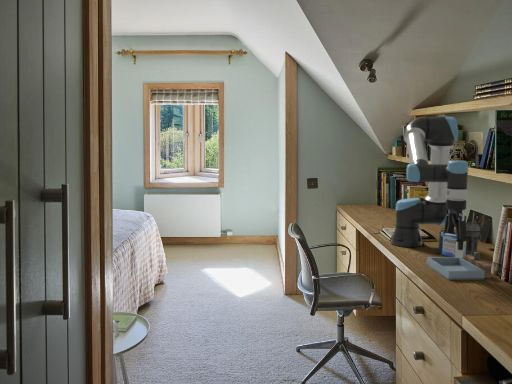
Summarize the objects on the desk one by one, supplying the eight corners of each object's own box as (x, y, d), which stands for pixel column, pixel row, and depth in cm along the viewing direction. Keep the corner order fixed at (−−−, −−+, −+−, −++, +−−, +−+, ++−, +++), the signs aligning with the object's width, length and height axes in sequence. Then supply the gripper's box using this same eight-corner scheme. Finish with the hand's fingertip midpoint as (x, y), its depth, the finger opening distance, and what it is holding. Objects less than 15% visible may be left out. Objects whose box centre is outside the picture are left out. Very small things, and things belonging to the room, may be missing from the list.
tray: (426, 265, 213) (427, 257, 213) (459, 265, 214) (459, 257, 213) (448, 280, 191) (448, 271, 191) (484, 279, 192) (484, 270, 191)
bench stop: (462, 266, 212) (463, 247, 211) (469, 266, 212) (470, 247, 211) (483, 278, 194) (484, 258, 193) (490, 278, 194) (491, 257, 193)
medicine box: (441, 255, 203) (442, 234, 202) (446, 253, 206) (447, 232, 205) (461, 258, 197) (462, 236, 196) (465, 256, 200) (466, 235, 199)
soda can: (446, 256, 228) (447, 231, 227) (435, 253, 234) (436, 228, 233) (457, 255, 231) (458, 229, 230) (446, 252, 237) (447, 227, 236)
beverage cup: (459, 254, 233) (461, 212, 230) (466, 252, 237) (468, 210, 235) (474, 257, 227) (476, 214, 225) (482, 255, 232) (484, 212, 229)
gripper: (436, 196, 210) (434, 249, 212) (458, 202, 188) (456, 261, 191) (454, 196, 210) (451, 249, 212) (478, 202, 189) (475, 261, 191)
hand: (453, 254), depth 202 cm, fingers closed on medicine box, 9 cm apart
